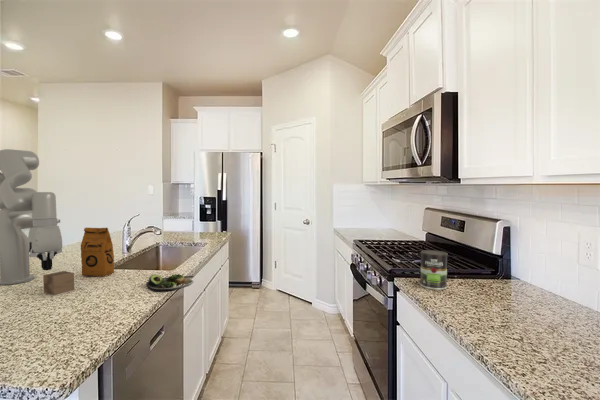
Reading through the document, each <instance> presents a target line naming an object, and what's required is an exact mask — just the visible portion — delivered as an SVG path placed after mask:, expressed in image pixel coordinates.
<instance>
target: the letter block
mask: <svg viewBox="0 0 600 400" xmlns="http://www.w3.org/2000/svg"><path fill="white" fill-rule="evenodd" d="M42 277H43V294H45V295H47V296H48V295H49V296H52V297H56V296H61V295H63V294H67V293H72V292H74V291H75V272H71V271H66V270H61V271H57V272H52V273H47V274H43V276H42Z"/></svg>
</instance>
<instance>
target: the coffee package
mask: <svg viewBox="0 0 600 400" xmlns="http://www.w3.org/2000/svg"><path fill="white" fill-rule="evenodd" d="M83 231H84V234H83V237H82V239H81V243H80V258H81V259H80V261H81V276H90V277H107V275H108V276H110V275H113V274H114V273H115V264H114V263H115V257H114V245H113V241H112V237H111V233H110V231H109V228H108V227H84V228H83ZM112 273H113V274H112ZM109 274H110V275H109Z"/></svg>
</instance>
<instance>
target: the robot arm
mask: <svg viewBox="0 0 600 400" xmlns="http://www.w3.org/2000/svg"><path fill="white" fill-rule="evenodd" d="M39 166H40V158H39V156H38V155H37V154H36V153H35V152H33V151H31V150H22V149H21V150H19V149H12V148H11V149H9V148H5V149H4V148H3V149H0V286H8V285H17V284H21V283H27V282H30V281H32V280H34V279H35V275H34V274H30V273H31V270H30V264H31V263H30V258H37V259H39V261H40V262H41V265H40V266H41V269H42V271H51V270H52V268H53V260H54V257H55V256H56V255H57V254H60V253H62V252H63V249H62V248H63V238H62V233H61V228H60V225H58V224H60V223H61V219H58V217H57V196H56V193H54V192H52V191H37V190H35V189H34V188H30V187H21V186H24V185H26V184H28V183H29V182H30V181H31V180H32V178H33V174H32V172H31V171H34V170H37V169H38V167H39ZM25 229H29V232H28V236H27V234H26V233H25V232H23V230H25Z"/></svg>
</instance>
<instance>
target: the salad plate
mask: <svg viewBox="0 0 600 400" xmlns="http://www.w3.org/2000/svg"><path fill="white" fill-rule="evenodd" d="M192 278H195V276H194V275H185V274H184V273H183V274H182V275H181V274H180V273H177V274H171V275H170V276H168V277H162V276H161V275H159V274H151V276H150V277H149V279H148V280H147V282H146V283H145V285H146V288H148V289H149V290H150V291H151V292H156V293H165V292H166V293H167V292H172V291H176V290H180V289H184V288H187V287H189V286H191V285H192V284H194V282H195V281H194V280H192ZM182 284H183V285H182ZM179 285H181V286H179Z"/></svg>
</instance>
